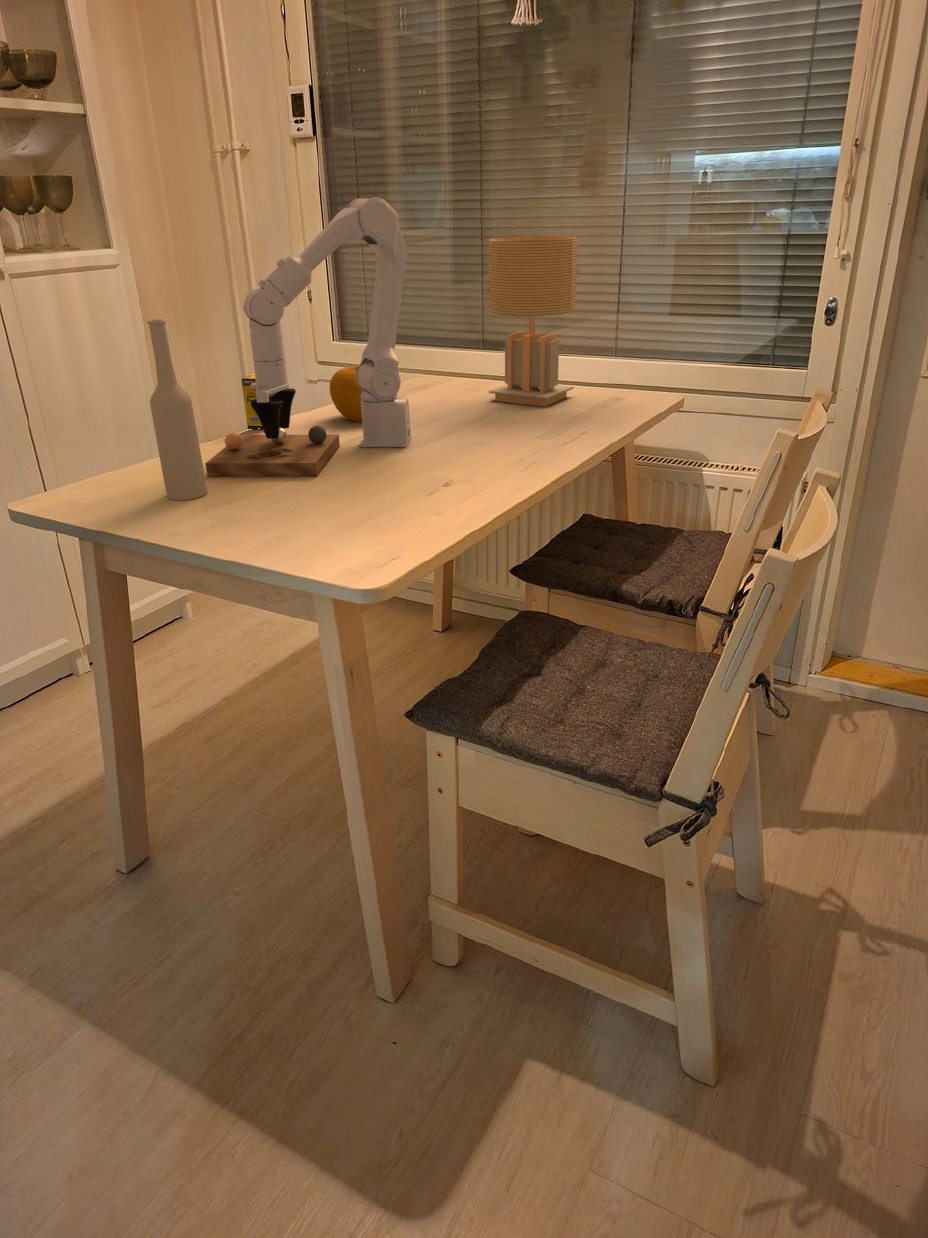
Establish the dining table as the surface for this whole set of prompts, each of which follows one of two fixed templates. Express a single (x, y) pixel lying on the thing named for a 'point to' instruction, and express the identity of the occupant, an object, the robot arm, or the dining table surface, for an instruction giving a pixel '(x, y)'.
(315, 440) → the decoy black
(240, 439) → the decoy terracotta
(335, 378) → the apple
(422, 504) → the dining table surface
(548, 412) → the dining table surface
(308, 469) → the board
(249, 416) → the supplement box
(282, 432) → the steel ball
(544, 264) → the desk lamp
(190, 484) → the bottle
